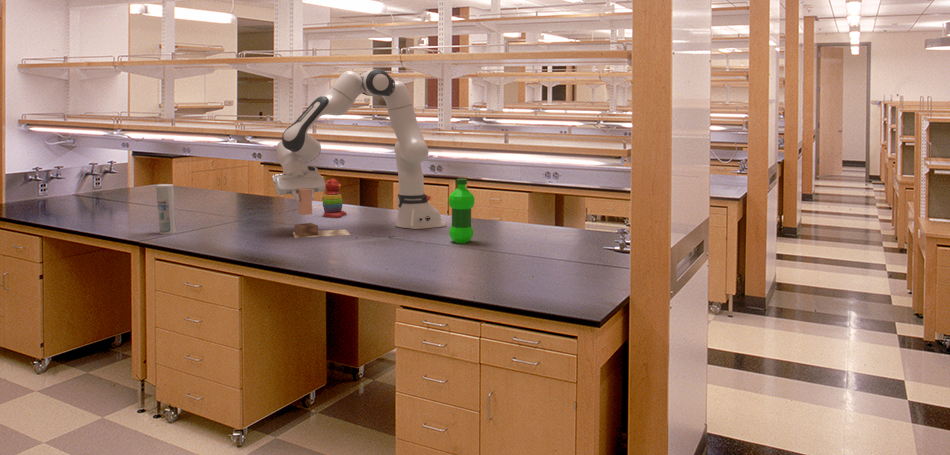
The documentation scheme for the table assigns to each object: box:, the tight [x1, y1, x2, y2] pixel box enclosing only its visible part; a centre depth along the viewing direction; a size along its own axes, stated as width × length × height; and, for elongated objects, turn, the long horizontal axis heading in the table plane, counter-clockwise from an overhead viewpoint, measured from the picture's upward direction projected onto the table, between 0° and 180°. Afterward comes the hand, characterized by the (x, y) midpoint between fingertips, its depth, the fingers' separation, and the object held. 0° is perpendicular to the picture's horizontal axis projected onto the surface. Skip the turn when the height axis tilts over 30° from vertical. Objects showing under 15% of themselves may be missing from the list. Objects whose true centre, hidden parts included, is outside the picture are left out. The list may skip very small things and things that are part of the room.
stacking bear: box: [322, 178, 347, 219], centre depth 336 cm, size 11×10×18 cm
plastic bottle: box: [448, 178, 475, 244], centre depth 277 cm, size 10×10×25 cm
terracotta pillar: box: [297, 189, 313, 216], centre depth 283 cm, size 4×4×10 cm
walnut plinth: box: [294, 222, 319, 238], centre depth 285 cm, size 7×7×4 cm
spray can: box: [155, 183, 177, 235], centre depth 290 cm, size 6×6×20 cm
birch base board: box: [292, 229, 351, 239], centre depth 288 cm, size 22×12×1 cm, turn 108°
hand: (305, 200), depth 282 cm, fingers closed on terracotta pillar, 4 cm apart
